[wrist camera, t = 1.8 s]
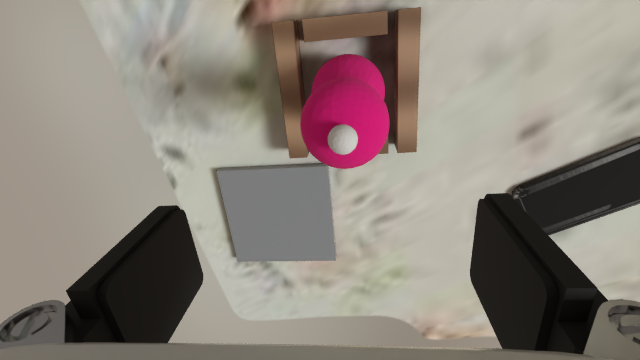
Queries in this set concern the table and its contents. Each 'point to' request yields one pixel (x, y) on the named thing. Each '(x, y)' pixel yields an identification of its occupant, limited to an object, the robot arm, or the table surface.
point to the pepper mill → (346, 113)
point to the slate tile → (279, 212)
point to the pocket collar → (348, 28)
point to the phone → (583, 189)
